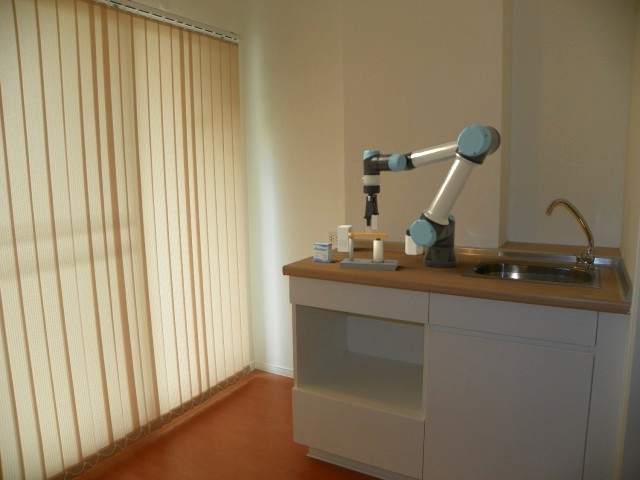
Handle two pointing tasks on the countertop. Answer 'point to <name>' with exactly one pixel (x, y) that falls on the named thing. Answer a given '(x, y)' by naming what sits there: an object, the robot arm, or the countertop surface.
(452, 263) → the robot arm
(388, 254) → the countertop surface
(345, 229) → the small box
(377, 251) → the plug
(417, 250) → the jar
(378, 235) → the bar
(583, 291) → the countertop surface
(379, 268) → the grey post stand
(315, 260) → the medicine box
